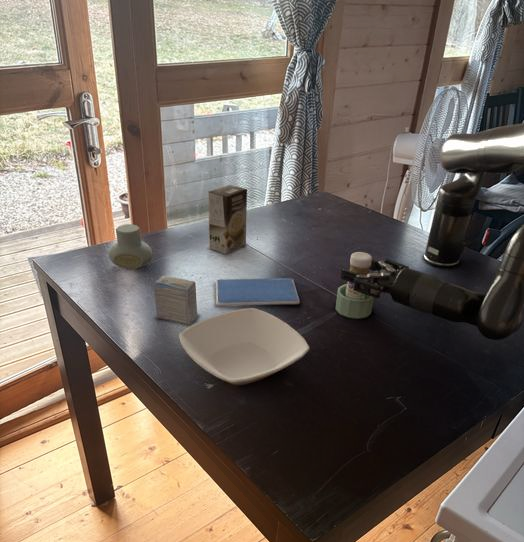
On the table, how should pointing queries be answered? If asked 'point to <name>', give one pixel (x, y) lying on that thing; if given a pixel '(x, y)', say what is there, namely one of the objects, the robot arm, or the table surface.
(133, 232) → the air freshener
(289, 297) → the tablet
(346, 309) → the bracelet
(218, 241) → the coffee box
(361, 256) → the sprinkles bottle
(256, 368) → the bowl
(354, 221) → the table surface
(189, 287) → the medicine box
